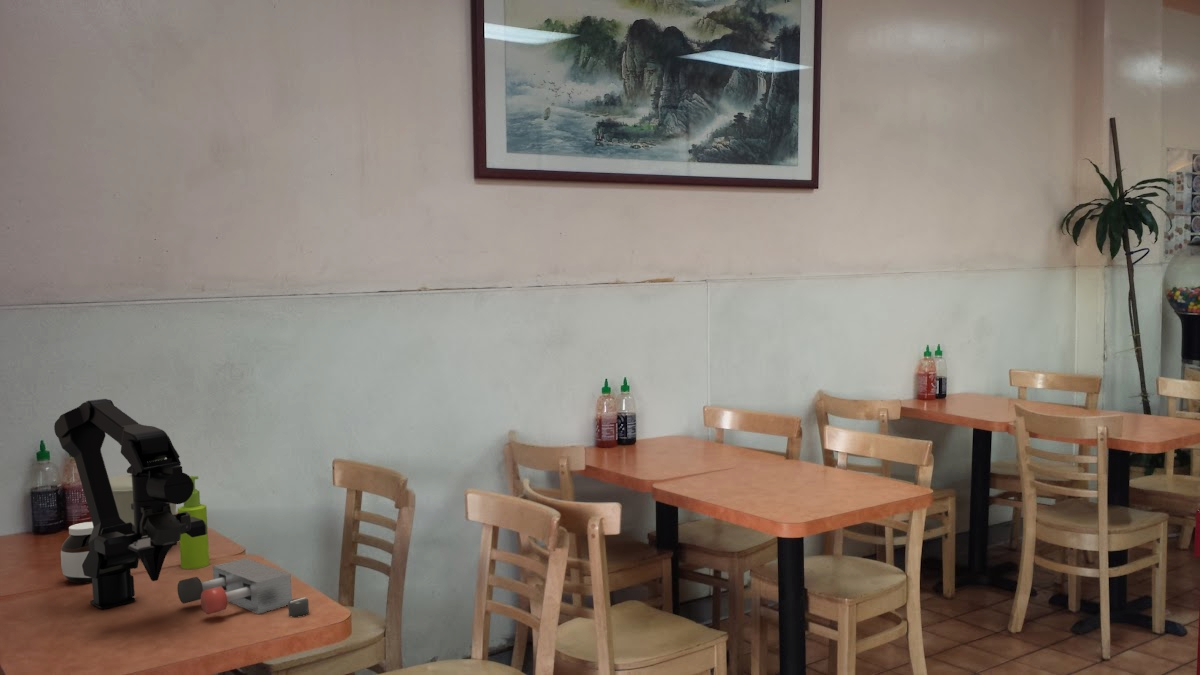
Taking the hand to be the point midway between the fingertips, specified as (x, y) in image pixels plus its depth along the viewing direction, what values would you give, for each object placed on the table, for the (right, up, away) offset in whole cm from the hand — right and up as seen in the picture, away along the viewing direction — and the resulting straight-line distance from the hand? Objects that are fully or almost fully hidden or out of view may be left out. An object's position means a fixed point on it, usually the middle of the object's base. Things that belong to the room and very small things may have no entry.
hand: (154, 580), depth 187 cm
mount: (+15, -6, +9) cm, 19 cm away
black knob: (+8, -5, +8) cm, 12 cm away
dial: (+27, -6, -1) cm, 28 cm away
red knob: (+15, -5, +1) cm, 16 cm away
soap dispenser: (-7, -6, +35) cm, 36 cm away
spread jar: (-27, -7, +29) cm, 41 cm away
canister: (-25, -5, +49) cm, 55 cm away
